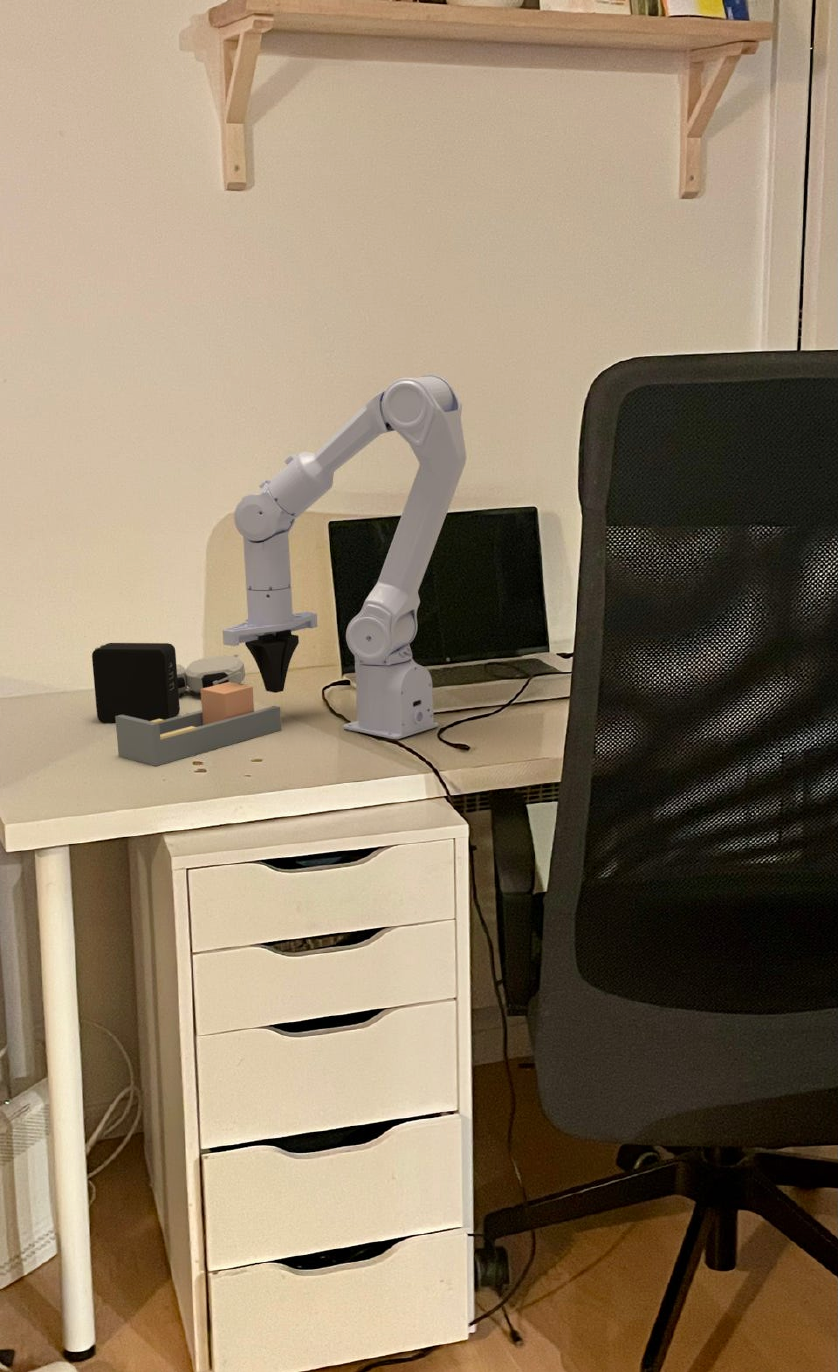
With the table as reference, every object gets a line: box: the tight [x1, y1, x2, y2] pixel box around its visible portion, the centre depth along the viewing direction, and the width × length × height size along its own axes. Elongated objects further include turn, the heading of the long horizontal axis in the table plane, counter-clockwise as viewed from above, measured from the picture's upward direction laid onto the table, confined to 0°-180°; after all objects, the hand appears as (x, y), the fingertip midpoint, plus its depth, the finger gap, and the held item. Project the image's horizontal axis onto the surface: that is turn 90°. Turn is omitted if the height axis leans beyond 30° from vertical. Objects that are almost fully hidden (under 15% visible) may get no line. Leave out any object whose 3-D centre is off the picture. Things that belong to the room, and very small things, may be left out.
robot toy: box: [176, 653, 246, 694], centre depth 214 cm, size 12×4×15 cm
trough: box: [115, 705, 282, 767], centre depth 187 cm, size 20×7×5 cm, turn 138°
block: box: [200, 682, 255, 725], centre depth 190 cm, size 5×5×5 cm
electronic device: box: [91, 642, 181, 725], centre depth 199 cm, size 4×10×10 cm, turn 78°
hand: (274, 690), depth 196 cm, fingers closed
